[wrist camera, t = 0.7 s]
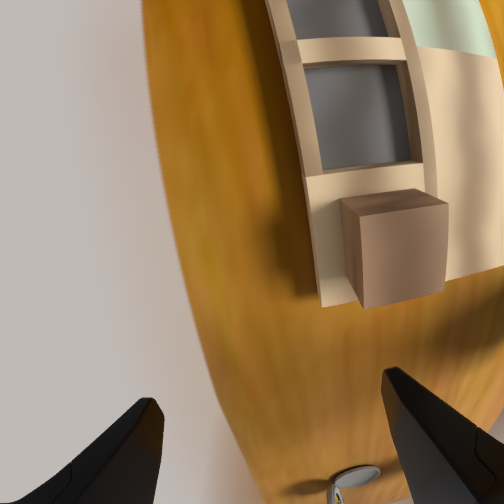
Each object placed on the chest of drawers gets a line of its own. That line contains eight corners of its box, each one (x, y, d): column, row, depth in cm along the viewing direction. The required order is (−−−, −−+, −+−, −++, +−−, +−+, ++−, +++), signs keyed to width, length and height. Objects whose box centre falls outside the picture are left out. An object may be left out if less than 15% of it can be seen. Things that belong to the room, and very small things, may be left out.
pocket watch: (388, 465, 32) (402, 520, 22) (349, 488, 34) (356, 540, 25) (347, 459, 30) (359, 524, 21) (308, 484, 33) (312, 541, 24)
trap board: (448, -33, 11) (469, -47, 8) (491, 255, 20) (515, 272, 16) (251, -46, 13) (248, -73, 9) (317, 292, 21) (325, 320, 18)
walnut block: (414, 188, 16) (448, 203, 13) (415, 262, 18) (444, 290, 14) (338, 198, 17) (359, 216, 13) (346, 276, 19) (363, 309, 15)
